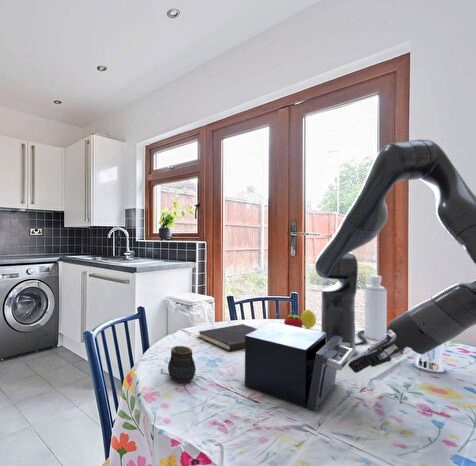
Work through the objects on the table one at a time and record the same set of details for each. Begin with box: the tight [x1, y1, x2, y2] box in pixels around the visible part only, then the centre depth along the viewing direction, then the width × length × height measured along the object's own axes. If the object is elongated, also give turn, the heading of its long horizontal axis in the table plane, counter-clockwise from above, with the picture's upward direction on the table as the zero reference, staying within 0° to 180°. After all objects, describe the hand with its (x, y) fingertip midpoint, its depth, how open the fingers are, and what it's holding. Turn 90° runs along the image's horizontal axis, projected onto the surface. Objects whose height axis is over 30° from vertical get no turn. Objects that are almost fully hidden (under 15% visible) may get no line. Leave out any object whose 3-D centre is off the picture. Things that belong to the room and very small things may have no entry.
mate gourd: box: [167, 345, 197, 384], centre depth 84 cm, size 7×8×10 cm
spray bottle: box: [363, 275, 388, 341], centre depth 120 cm, size 7×7×25 cm
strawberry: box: [283, 312, 303, 328], centre depth 120 cm, size 6×8×10 cm
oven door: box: [306, 335, 356, 411], centre depth 74 cm, size 5×18×13 cm, turn 135°
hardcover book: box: [197, 323, 258, 352], centre depth 116 cm, size 16×23×2 cm
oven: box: [244, 321, 326, 409], centre depth 82 cm, size 14×18×13 cm
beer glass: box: [414, 342, 446, 374], centre depth 92 cm, size 7×7×15 cm
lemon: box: [299, 309, 317, 329], centre depth 130 cm, size 6×6×8 cm
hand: (352, 368), depth 72 cm, fingers closed
